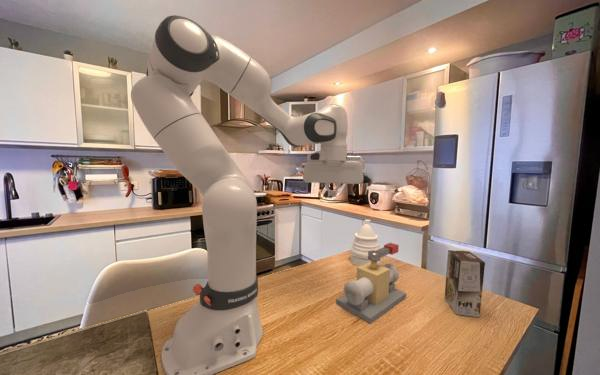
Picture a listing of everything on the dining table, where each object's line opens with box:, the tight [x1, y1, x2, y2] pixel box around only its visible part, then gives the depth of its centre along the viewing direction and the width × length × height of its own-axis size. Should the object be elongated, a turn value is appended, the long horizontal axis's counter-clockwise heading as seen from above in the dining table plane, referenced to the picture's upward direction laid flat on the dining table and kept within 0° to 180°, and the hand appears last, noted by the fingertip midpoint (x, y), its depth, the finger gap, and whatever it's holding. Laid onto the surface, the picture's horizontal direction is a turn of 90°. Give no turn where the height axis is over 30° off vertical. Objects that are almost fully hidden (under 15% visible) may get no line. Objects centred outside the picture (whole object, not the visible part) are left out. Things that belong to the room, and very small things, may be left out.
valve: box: [335, 261, 407, 325], centre depth 75 cm, size 20×12×13 cm, turn 130°
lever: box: [368, 242, 400, 261], centre depth 78 cm, size 14×4×2 cm, turn 130°
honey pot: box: [349, 219, 382, 267], centre depth 105 cm, size 13×13×18 cm
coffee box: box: [444, 249, 486, 318], centre depth 72 cm, size 9×6×16 cm
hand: (332, 196), depth 83 cm, fingers closed
